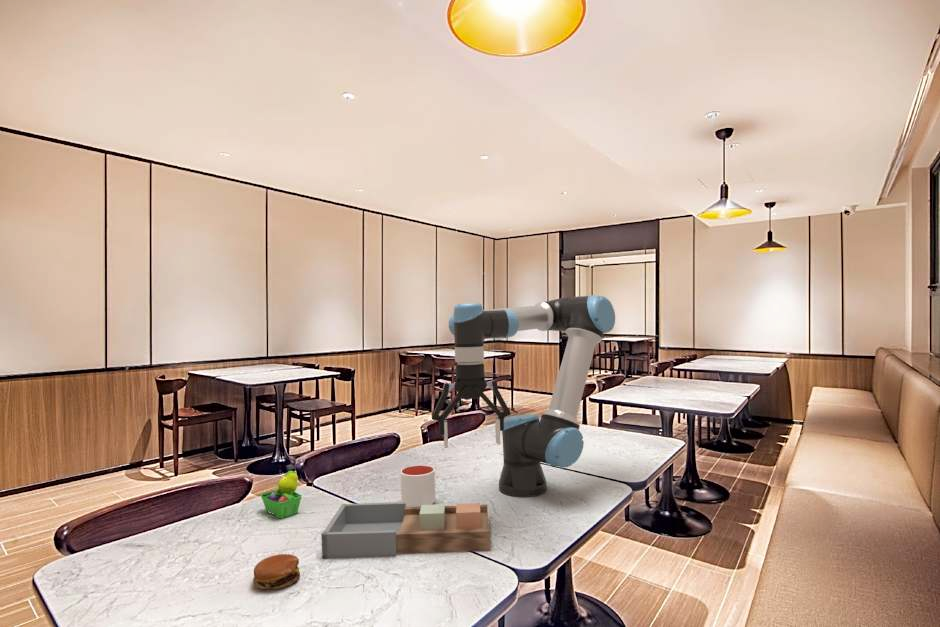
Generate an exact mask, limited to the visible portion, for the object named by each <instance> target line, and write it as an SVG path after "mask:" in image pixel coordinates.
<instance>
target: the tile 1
mask: <svg viewBox="0 0 940 627" xmlns="http://www.w3.org/2000/svg"><path fill="white" fill-rule="evenodd" d="M445 506H446V504H445V503H443V504H442V503H440V504H437V503H436V504H432V505H422V506H421V510H420V514H419V517H420V530H444V528H445Z"/></svg>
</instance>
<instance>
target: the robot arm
mask: <svg viewBox="0 0 940 627" xmlns="http://www.w3.org/2000/svg"><path fill="white" fill-rule="evenodd" d="M615 313H616V312H615V309H614V306H613V304H612V303H611V301H610V300H609V298H607V297H606V296H605V295H595V294H591V295H584V296H583V295H582V296H566V297H561V298H556V299H550V300H547V301H541V302H540V301H539V302H537V303H535V305H527V306H516V307H514V306H513V307H504V308H493V309H491V308H490V309H483V305H482V303H480V302H479V303H478V302H477V303H475V302H473V303H458V304H455V306H454V307H453V314H452V315H451V316H450V317H449V320H448V329H449V332H450V333H451V334H452V335H453V336H454V362H455V366H454V368H455V382H454V383H451V382H447V381H445V382H444V383H443V386H442V387H443V388H442V393H441V394H440V397H439V399H438V401H437V403H436V406H435V408H434V410H433V413H432V414H431V418H432V420H433V421H437V422H438V424H439V429H438V430H439V434H440V435H443V446H444V449H448V448H449V443H448V442H449V439H448V437H449V436H448V420H446V419H447V418H448V417H449V416H450V414H451V413H452V412H453V410H454V409H455V407H456V406H457V405H458V404H459V402H460V401H461V400H462V399H463V400H466V401H467V400H478V399H479V398H481V399H482V401H483V402H485V403H486V404H487V406H488V407H489V408H490V409H491V410H492V411H493V412H494V413H495V415H496V417H495V418H494V423H495V425H494V426H495V428H494V429H495V443H496V445H498V446H499V445H501V442H502V453H503V454H502V456H503V466H502V469H501V473H500V476H499V480H498V490H499V492H501V493H502V494H504V495H506V496H507V495H508V496H511V497H521V498H522V497H525V498H526V497H535V496H539V495H542V494H544V493H546V491H547V490H548V486H547V485H548V482H547V479H546V476H545V474H544V470H543V468H542V465H541V463H543V464H545V465H546V464H547V465H550V466H552V467H559V468H568V467H571V466H572V465H573V464H575V463H576V462H577V461H578V460H579V458H580V457H581V455H582V452H583V449H584V443H585V442H584V440H583V439H584V437H583V436H584V435H583V433H582V432H581V431H580V423H579V421H578V419H577V418H578V414H579V411H580V410H579V409H580V407H581V406H580V404H581V402H582V397H583V394H584V390H585V387H586V383H587V379H588V376H589V373H590V372H589V371H590V367H591V364H592V359H593V358H594V357H593V356H594V351H595V350H596V345H599V343H602V342H603V338H604V335H605V334H607V333H610V332H611V331H612V330H613V329H614V327H615V324H616V314H615ZM530 330H539V331H540V332H546V331H555V332H565V334H566V336H567V337H568V339H567V341H566V346H565V350H564V353H563V357H562V360H561V364H560V367H559V371H558V374H557V378H556V382H555V385H554V389H553V393H552V395H551V398H550V403H549V406H548V409H547V410H545V411H544V412H543V413H541V417H539V415H538V414H535V413H534V414H532V413H531V414H530V413H528V414H518V415H513V416H511V411H510V409H509V407H508V405H507V404H506V401H505V400H504V398H503V396H502V394H501V393H500V391H499V388H498V382H497V381H496V380H495V379H492V380H489V381H486V378H485V375H486V374H485V373H486V372H485V364H484V363H483V362H484V361H485V352H484V351H485V350H484V347H485V345H484V340H487V339H501V338H503V339H507V338H511V337H514V336H515V335H516V334H517V333H518V332H523V331H530ZM487 387H488V388H489V390H491V391H492V392H493V395H494V396H495V398H496V399H497V402H498V403H499V405H500V407H501V409H502V411H500V409H499V408H498V407H497V406H496V405H495V404H494V403H493V402H492V400H491V399H490V398H489V397H488V396H487V395H486V394H485V393H484V391H485V390H486V388H487ZM453 389H455V391H456V395H454V397H453V399H452V400H451V401H450V403H448V405H447V406H446V407H445V409H444V410H443V411H442V408H443V406H444V404H445V402H446V400H447V397H448V395H449V392H452V390H453ZM441 411H442V413H441ZM440 413H441V414H440ZM501 434H502V436H501ZM501 437H502V441H501Z"/></svg>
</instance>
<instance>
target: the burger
mask: <svg viewBox="0 0 940 627" xmlns="http://www.w3.org/2000/svg"><path fill="white" fill-rule="evenodd" d="M299 561H300V559H299V557H298V556H296V555H293V554H288V553H283V554H282V553H280V554H274V555H271V556H268V557H265V558H263V559H262V560H261V561H259V562H258V563H257V564H256V565H255V566H254V568H253V578H252V579H253V580H252V581H253V587H254V588H256V589H258V590H279V589H281V588H284V587H287V586H291V584H293V583H295V582H296V581H297V579H299V578H300V577H301V572H300V568H299V567H298V566H299V563H300V562H299Z"/></svg>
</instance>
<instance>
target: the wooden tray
mask: <svg viewBox="0 0 940 627" xmlns="http://www.w3.org/2000/svg"><path fill="white" fill-rule="evenodd" d="M420 510H421V507H405V516H404V519H403V522H402V525H401V528H400V531H399V532H397V534H396V545H397V555H398V554H424V553H425V554H426V553H427V554H428V553H429V554H430V553H433V554H434V553H457V552H458V553H461V552H463V553H464V552H488V551H489V552H490V551H491V533H490V532H491V531H490V523H489V514H488V513H489V512H488V511H489V510H488V504H480V516H481V528H476V529H456V505H445V528H444V530H420V517H419V514H420Z"/></svg>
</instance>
